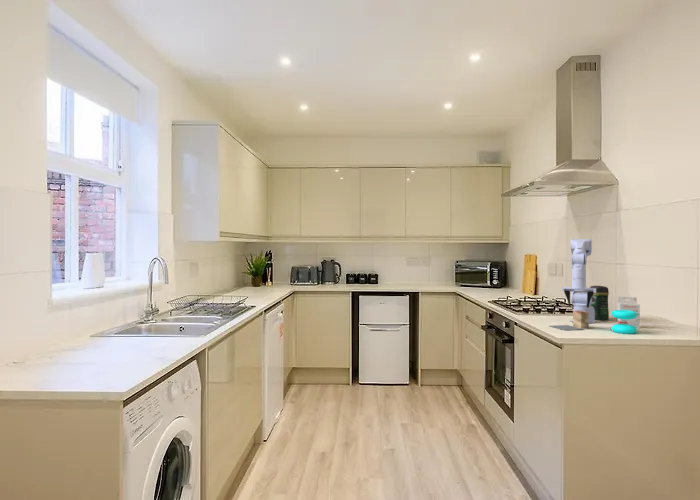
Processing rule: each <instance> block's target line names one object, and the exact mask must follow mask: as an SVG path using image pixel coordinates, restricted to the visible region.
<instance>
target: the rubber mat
mask: <svg viewBox="0 0 700 500" xmlns="http://www.w3.org/2000/svg"><path fill="white" fill-rule="evenodd" d="M549 327H550V328H553V329H558V330H560V331H561V330H562V331H584V329H581V328H577V327H573V325H569V324H562V325H561V324H560V325H559V324H558V325H549Z"/></svg>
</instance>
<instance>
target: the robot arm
mask: <svg viewBox="0 0 700 500" xmlns="http://www.w3.org/2000/svg"><path fill="white" fill-rule="evenodd" d="M592 242H593V240H592V239H591V238H580V239H579V238H574V239H573V238H572V239H570V251H571V252H570V253H571V254H570V255H571V256H570V265H571V286H563V287H562V286H561V292H563V293H564V295H565V297H566V299H567V303H568V307H569V308H570V307H571V305H573V311H585V312H589V324H595V323H597V322H596V320H595V310H594V308H593V306H591V304H592V296H593V294H594V293H596V288H590V287H587V258H588V256H591V255H592V249H593V247H592V246H593V244H592ZM593 292H594V293H593ZM569 321H570V322H572V323H573V319H570V320H569Z"/></svg>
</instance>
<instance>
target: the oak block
mask: <svg viewBox="0 0 700 500" xmlns="http://www.w3.org/2000/svg"><path fill="white" fill-rule="evenodd" d="M572 320H573V322H572V326H573V327H577V328H581V329H588V328H589V324H590V323H589V312H585V311H574V310H572Z"/></svg>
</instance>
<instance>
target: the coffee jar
mask: <svg viewBox="0 0 700 500" xmlns="http://www.w3.org/2000/svg"><path fill="white" fill-rule="evenodd" d="M589 288H596V293H594V292H593V293H594V294H593V296H592V304H591V306H593V308H594V310H595V321H608V320H610V315H609V312H610V310H609V296H610V295H609V293H610V291H609V288H608V287H607V286H604V285H591V286H590V287H589Z"/></svg>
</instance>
